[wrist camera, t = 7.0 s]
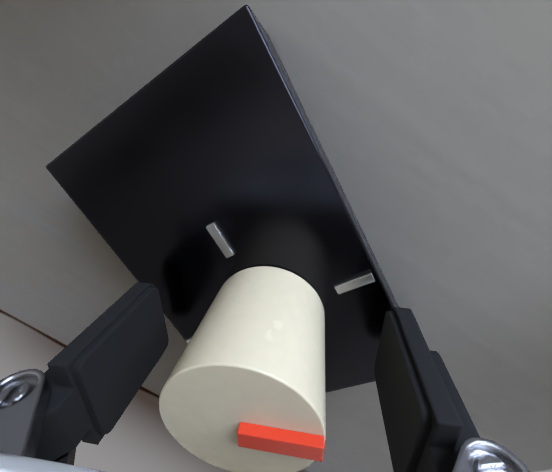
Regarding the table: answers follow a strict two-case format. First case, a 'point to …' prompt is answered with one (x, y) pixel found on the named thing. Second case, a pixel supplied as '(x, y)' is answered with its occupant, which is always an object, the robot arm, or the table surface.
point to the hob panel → (229, 193)
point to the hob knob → (253, 377)
